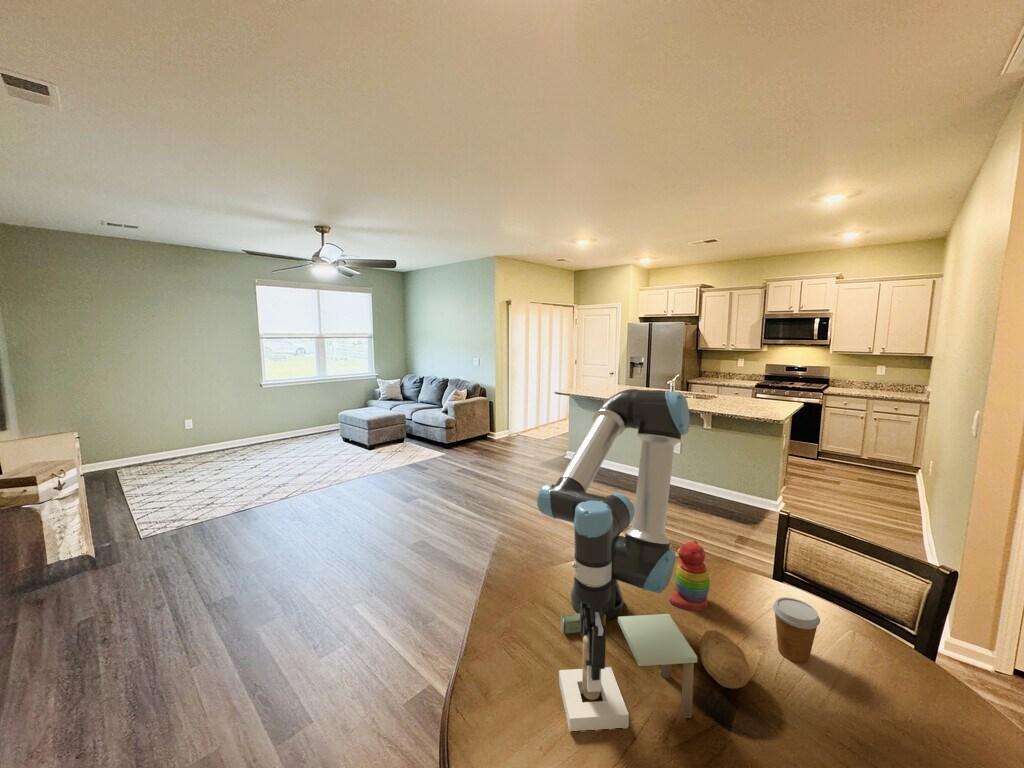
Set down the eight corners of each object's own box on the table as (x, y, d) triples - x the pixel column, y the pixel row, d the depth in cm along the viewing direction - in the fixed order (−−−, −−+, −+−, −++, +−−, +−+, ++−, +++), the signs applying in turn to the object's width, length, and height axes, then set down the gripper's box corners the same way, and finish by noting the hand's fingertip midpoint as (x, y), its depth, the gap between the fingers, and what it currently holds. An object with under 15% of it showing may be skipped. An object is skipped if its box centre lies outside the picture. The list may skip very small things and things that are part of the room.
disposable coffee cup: (825, 671, 95) (829, 623, 94) (780, 665, 97) (783, 618, 96) (805, 642, 105) (808, 598, 103) (764, 637, 106) (766, 594, 105)
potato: (728, 652, 102) (730, 622, 101) (761, 702, 88) (763, 668, 87) (688, 652, 102) (689, 622, 101) (715, 702, 88) (716, 667, 87)
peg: (580, 685, 89) (581, 634, 88) (596, 684, 89) (597, 633, 88) (584, 700, 86) (585, 647, 84) (601, 699, 86) (602, 646, 84)
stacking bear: (677, 585, 129) (678, 531, 127) (712, 597, 123) (714, 540, 121) (667, 603, 120) (669, 546, 118) (704, 616, 115) (707, 556, 113)
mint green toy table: (617, 673, 96) (618, 616, 94) (667, 669, 96) (668, 613, 95) (637, 725, 83) (638, 660, 81) (694, 720, 84) (697, 656, 82)
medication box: (563, 635, 109) (563, 621, 108) (560, 628, 111) (560, 614, 111) (606, 629, 111) (606, 615, 110) (602, 622, 113) (602, 609, 113)
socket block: (559, 682, 93) (559, 670, 93) (610, 678, 94) (610, 666, 94) (569, 732, 82) (569, 718, 81) (628, 728, 82) (628, 714, 82)
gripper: (566, 557, 93) (566, 653, 95) (584, 604, 76) (583, 718, 79) (599, 556, 93) (598, 651, 96) (623, 602, 77) (621, 715, 79)
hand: (591, 681), depth 87 cm, fingers closed on peg, 3 cm apart
